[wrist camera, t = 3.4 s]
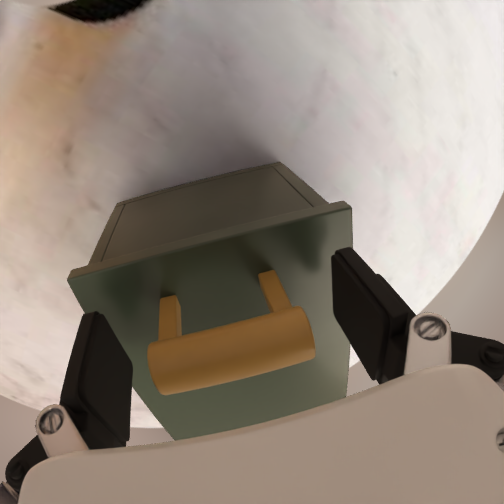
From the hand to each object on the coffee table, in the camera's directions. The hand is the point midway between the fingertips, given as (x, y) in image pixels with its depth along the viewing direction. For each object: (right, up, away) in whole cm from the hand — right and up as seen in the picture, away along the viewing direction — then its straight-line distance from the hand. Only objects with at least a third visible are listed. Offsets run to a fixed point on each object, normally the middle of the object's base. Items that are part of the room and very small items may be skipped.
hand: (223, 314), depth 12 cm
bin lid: (0, -3, +4) cm, 5 cm away
